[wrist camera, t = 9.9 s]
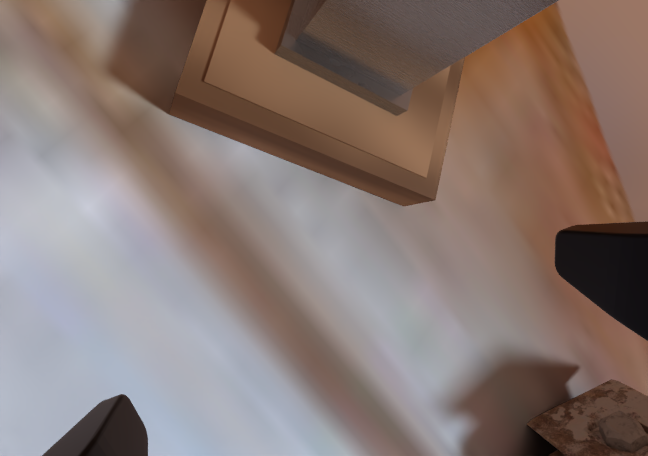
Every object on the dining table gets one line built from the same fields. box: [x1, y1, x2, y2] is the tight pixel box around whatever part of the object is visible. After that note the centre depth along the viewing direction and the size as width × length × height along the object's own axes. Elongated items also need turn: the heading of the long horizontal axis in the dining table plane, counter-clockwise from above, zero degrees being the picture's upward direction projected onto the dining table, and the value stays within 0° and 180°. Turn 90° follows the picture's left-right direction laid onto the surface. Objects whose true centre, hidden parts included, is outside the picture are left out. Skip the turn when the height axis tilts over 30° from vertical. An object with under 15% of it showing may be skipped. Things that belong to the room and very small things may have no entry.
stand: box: [169, 0, 465, 206], centre depth 20 cm, size 12×12×3 cm
